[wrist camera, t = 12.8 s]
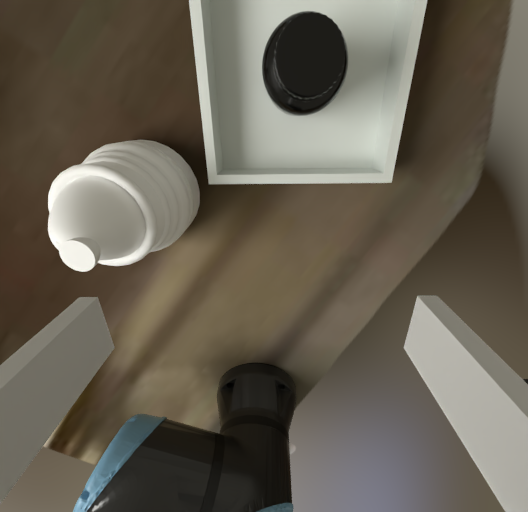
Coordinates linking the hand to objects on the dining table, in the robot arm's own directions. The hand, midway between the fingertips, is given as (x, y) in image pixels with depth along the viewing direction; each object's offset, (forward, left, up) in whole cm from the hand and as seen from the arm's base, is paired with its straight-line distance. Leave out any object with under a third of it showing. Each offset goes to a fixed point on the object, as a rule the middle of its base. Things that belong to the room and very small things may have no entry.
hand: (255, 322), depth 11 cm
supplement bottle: (+12, -3, -25) cm, 28 cm away
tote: (+12, -3, -26) cm, 29 cm away
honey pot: (0, +16, -26) cm, 31 cm away
